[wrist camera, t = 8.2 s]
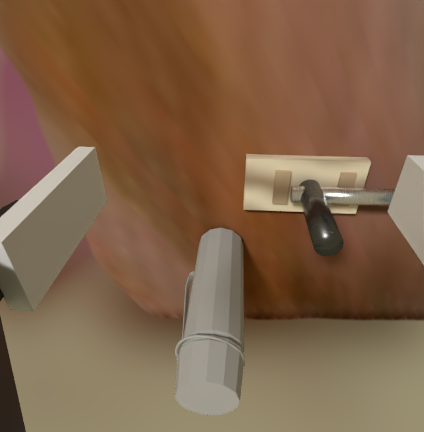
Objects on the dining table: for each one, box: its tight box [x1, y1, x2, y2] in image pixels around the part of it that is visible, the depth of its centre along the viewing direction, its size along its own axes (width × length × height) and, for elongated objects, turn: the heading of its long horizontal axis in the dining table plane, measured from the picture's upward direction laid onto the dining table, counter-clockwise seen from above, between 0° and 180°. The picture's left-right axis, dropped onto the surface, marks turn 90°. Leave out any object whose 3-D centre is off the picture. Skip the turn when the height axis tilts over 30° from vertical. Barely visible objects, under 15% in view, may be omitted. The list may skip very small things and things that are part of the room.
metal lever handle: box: [290, 179, 395, 256], centre depth 39 cm, size 18×7×13 cm, turn 90°
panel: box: [243, 154, 371, 214], centre depth 45 cm, size 8×16×2 cm, turn 90°
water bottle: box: [175, 228, 245, 415], centre depth 43 cm, size 9×8×25 cm
